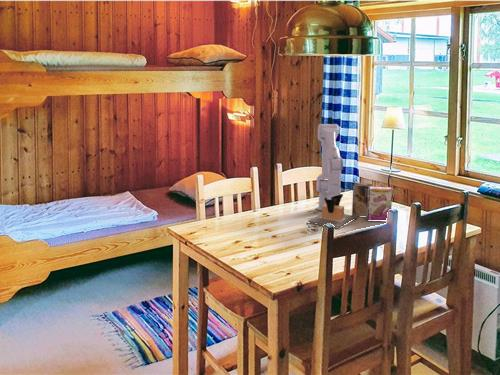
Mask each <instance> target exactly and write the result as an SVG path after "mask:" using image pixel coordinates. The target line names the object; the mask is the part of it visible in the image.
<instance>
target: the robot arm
mask: <svg viewBox="0 0 500 375" xmlns="http://www.w3.org/2000/svg"><path fill="white" fill-rule="evenodd" d="M339 131H340V130H339V125H338V124H337V123H332V124H331V123H319V124H318V125H317V140H318V141H320V142H321V173H320V174H319V175H318V176H317V178H316V183H315V185H316V192H318V206H317V207H315V210H316V209H317V210H318V211H321V210H322V206H323V205H324V204H327V208H328V213H333V211H334V205H337V206H340V203H341V200H342V198H343V196H344V194H343V193H341V192H342V189H341V177H342V171H343V169H344V161H343V158H342V156H341V154H340V150H339V147H338V146H337V145H336V141H337V140H336V139H337V137H338V135H339V133H340V132H339Z"/></svg>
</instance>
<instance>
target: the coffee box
mask: <svg viewBox="0 0 500 375" xmlns="http://www.w3.org/2000/svg"><path fill="white" fill-rule="evenodd" d="M369 187H374V186H373V183H365V182H364V183H362V182H354V183H353V185H352V203H351V204H352V206H351V213H352V214H351V215H352V216H367V203H368V188H369Z"/></svg>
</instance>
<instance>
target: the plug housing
mask: <svg viewBox="0 0 500 375" xmlns="http://www.w3.org/2000/svg"><path fill="white" fill-rule="evenodd" d="M321 214H322V218H324V219H331V220H338V221H341V220H342V219H344V214H345V206H344V205H342V206H341V205H339V206H337V205H334V211H333V213H328V208H327V204H324V205H323V206H322V211H321Z"/></svg>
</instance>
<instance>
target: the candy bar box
mask: <svg viewBox="0 0 500 375" xmlns="http://www.w3.org/2000/svg"><path fill="white" fill-rule="evenodd" d="M393 191H394V189H393V188H392V187H386V186H385V187H384V186H383V187H382V186H373V187H369V188H368V203H367V216H366V218H367V219H366V218H365V219H366V221H367V220H386V218H387V212H388V210H389V209H391V210H392V206H393V205H392V204H393V194H394V193H393Z"/></svg>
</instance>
